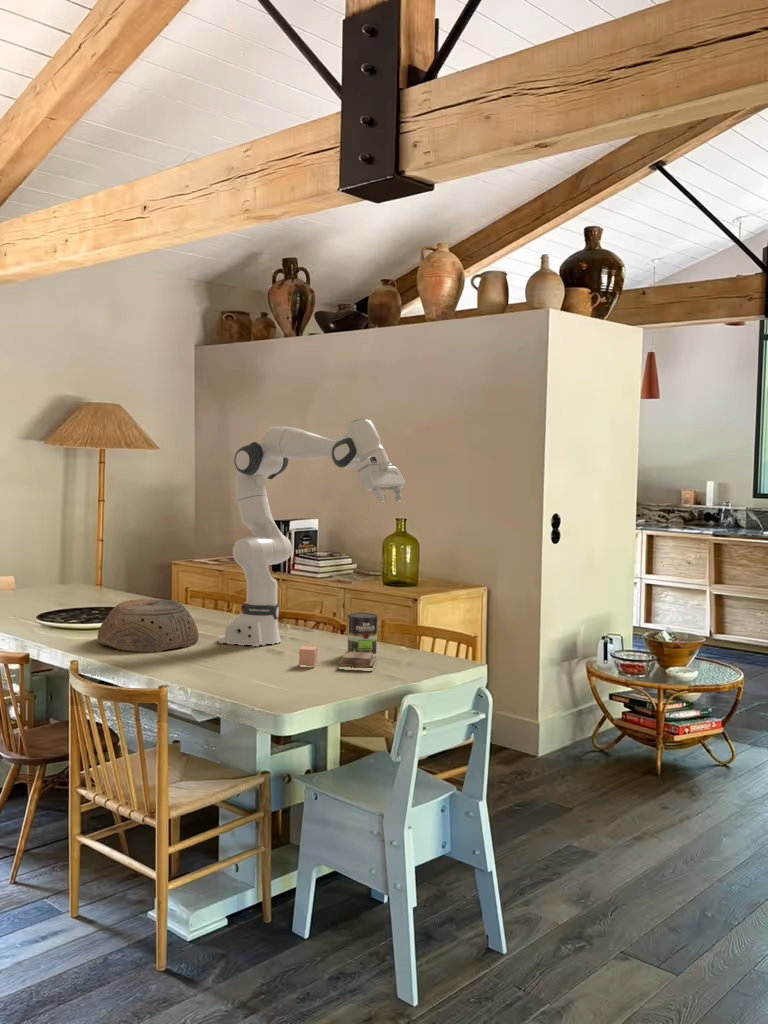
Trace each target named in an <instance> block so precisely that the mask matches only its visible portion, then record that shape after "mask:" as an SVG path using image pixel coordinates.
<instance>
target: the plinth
mask: <svg viewBox="0 0 768 1024" xmlns="http://www.w3.org/2000/svg"><path fill="white" fill-rule="evenodd" d="M375 662H376V663H377V658H376V657H373V653H367V652H348V651H345V653H343V655H342V657H341V660H340V661H338V664H337V665H338V667H351V668H352V667H353V668H373V666H374V664H375ZM338 667H337V668H338Z"/></svg>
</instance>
